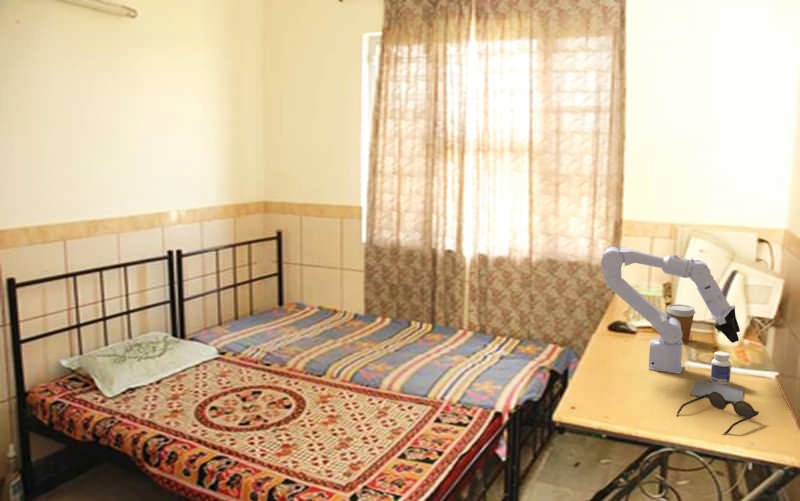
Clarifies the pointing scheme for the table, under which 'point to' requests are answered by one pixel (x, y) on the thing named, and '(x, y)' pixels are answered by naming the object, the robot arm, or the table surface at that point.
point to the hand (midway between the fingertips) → (736, 336)
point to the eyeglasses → (719, 402)
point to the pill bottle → (720, 368)
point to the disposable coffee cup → (682, 318)
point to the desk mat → (717, 390)
